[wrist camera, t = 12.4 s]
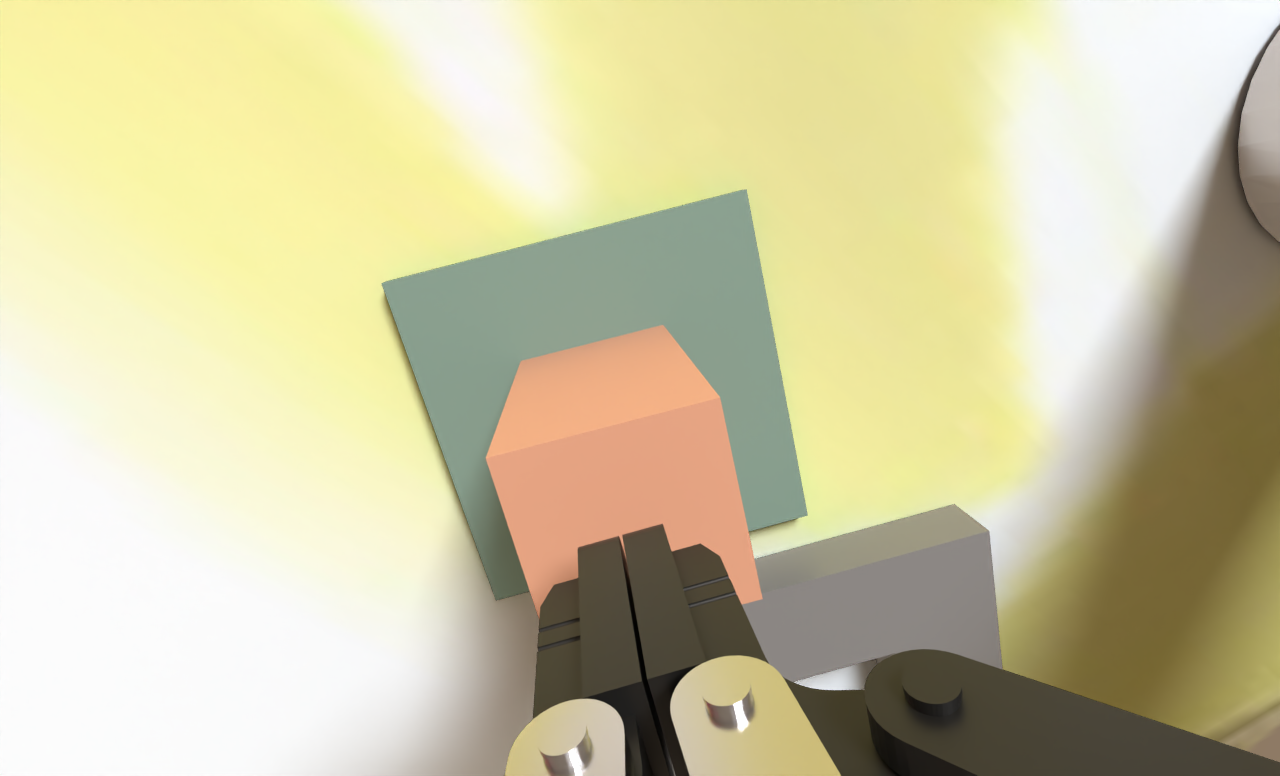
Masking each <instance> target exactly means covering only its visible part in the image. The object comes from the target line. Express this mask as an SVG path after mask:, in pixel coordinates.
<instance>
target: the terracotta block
mask: <svg viewBox="0 0 1280 776" xmlns="http://www.w3.org/2000/svg"><path fill="white" fill-rule="evenodd" d="M486 461H487V464H488V467H489V470H490V473H491V476H492V479H493V482H494V485H495V488H496V491H497V494H498V497H499V500H500V503H501V506H502V509H503V512H504V515H505V518H506V521H507V524H508V527H509V530H510V533H511V536H512V539H513V542H514V545H515V548H516V551H517V554H518V557H519V560H520V563H521V566H522V569H523V572H524V575H525V578H526V581H527V584H528V587H529V590H530V593H531V596H532V599H533V602H534V605H535V608H536V611H537V614H538V617H539V619H540V606H541V605H542V603H543V602H544V600H545V598H546V597H547V595H548V593H549V592H550V590H551V588H552V587H553V585H555V584H558V583H562V582H565V581H569V580H573V579H576V578H578V547H581V546H584V545H588V544H591V543H595V542H599V541H602V540H606V539H609V538H613V537H617V536H619V537H620V540H621V543H622V546H623V549H624V543H623V537H622V535H623V534H627V533H630V532H634V531H638V530H641V529H645V528H648V527H652V526H656V525H659V524H663V526H664V529H665V532H666V535H667V539H668V542H669V545H670V548H671V551H675V550H679V549H682V548H686V547H690V546H693V545H697V544H700V543H701V544H702V545H704V546H705V547H707V548H708V549H710V550H711V551H713V552H714V553H716V554H717V555H719V556H720V558H721V560H722V562H723V564H724V566H725V569H726V571H727V573H728V576H729V579H730V580H731V582H732V584H733V586H734V589H735V591H736V594H737V595H738V598H739V600H740V602H741V604H746V603H750V602H753V601H757V600H761V599H763V598H762V594H761V589H760V584H759V579H758V575H757V570H756V565H755V560H754V556H753V551H752V546H751V541H750V537H749V532H748V527H747V522H746V518H745V513H744V508H743V503H742V499H741V494H740V489H739V484H738V480H737V475H736V470H735V465H734V461H733V456H732V451H731V446H730V442H729V437H728V432H727V427H726V423H725V418H724V413H723V409H722V404H721V399H720V397H719V395H718V394H717V393H716V391H715V390H714V389H713V388H712V386H711V385H710V384H709V383H708V381H707V380H706V379H705V377H704V376H703V375H702V374H701V372H700V371H699V370H698V369H697V367H696V366H695V365H694V363H693V362H692V361H691V360H690V358H689V357H688V356H687V355H686V353H685V352H684V351H683V349H682V348H681V347H680V346H679V344H678V343H677V342H676V341H675V339H674V338H673V337H672V335H671V334H670V333H669V332H668V330H667V329H666V328H665V327H664V325H660V326H656V327H652V328H648V329H645V330H641V331H637V332H633V333H629V334H625V335H621V336H617V337H613V338H609V339H605V340H601V341H597V342H593V343H590V344H586V345H582V346H578V347H574V348H570V349H566V350H562V351H558V352H554V353H550V354H546V355H542V356H538V357H535V358H531V359H527V360H523V361H521V362H520V364H519V367H518V370H517V373H516V375H515V378H514V381H513V384H512V387H511V389H510V392H509V395H508V398H507V400H506V403H505V406H504V409H503V411H502V414H501V417H500V420H499V422H498V425H497V428H496V431H495V434H494V436H493V439H492V442H491V445H490V447H489V450H488V453H487V456H486ZM624 553H625V549H624ZM625 556H626V554H625Z"/></svg>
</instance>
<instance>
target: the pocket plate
mask: <svg viewBox="0 0 1280 776" xmlns="http://www.w3.org/2000/svg"><path fill="white" fill-rule="evenodd" d="M754 560H755V565H756V570H757V575H758V579H759V584H760V589H761V594H762V598H763V599H761V600H757V601H753V602H750V603H746V604H742V606H743V609H744V611H745V613H746V615H747V617H748V620H749V622H750V624H751V626H752V629H753V631H754V633H755V635H756V637H757V640H758V642H759V644H760V646H761V649H762V651H763V653H764V655H765V657H766V659H767V661H768V663H769V664H770V665H771V666H773V667H774V668H775V669H776V670H777V671H778V672H779V673H780V674H781V675H782V676H783V677H784V678H786V679H788V680H789V681H791V682H794V681H798V680H801V679H805V678H808V677H812V676H815V675H819V674H823V673H826V672H830V671H833V670H837V669H840V668H844V667H848V666H851V665H855V664H858V663H862V662H865V661H869V660H872V659H876V660H877V664H879V663H880V662H881V661H883V660H884V659H886V658H888V657H890V656H892V655H894V654H897V653H900V652H904V651H909V650H917V649H933V650H940V651H947V652H950V653H954V654H958V655H961V656H964V657H967V658H970V659H973V660H975V661H978V662H981V663H984V664H987V665H990V666H993V667H996V668H999V669H1002V659H1001V649H1000V638H999V628H998V618H997V607H996V597H995V587H994V576H993V566H992V555H991V545H990V535H989V530H987V529H986V528H985V527H983V526H982V525H981V524H980V523H978V522H977V521H976V520H974V519H973V518H972V517H970V516H969V515H968V514H967V513H965V512H964V511H963V510H961V509H960V508H959V507H957V506H956V505H955V504H954V505H950V506H946V507H943V508H939V509H935V510H932V511H928V512H925V513H921V514H917V515H914V516H910V517H906V518H903V519H899V520H895V521H892V522H888V523H884V524H881V525H877V526H874V527H870V528H866V529H863V530H859V531H855V532H852V533H848V534H844V535H841V536H837V537H833V538H830V539H826V540H822V541H819V542H815V543H812V544H808V545H804V546H801V547H797V548H793V549H790V550H786V551H782V552H779V553H775V554H771V555H768V556H764V557H761V558H757V559H754ZM1002 670H1003V669H1002ZM675 776H676V775H675Z"/></svg>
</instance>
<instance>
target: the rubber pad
mask: <svg viewBox="0 0 1280 776" xmlns="http://www.w3.org/2000/svg"><path fill="white" fill-rule="evenodd" d="M382 286H383V289H384V292H385V295H386V297H387V300H388V303H389V306H390V308H391V311H392V314H393V317H394V319H395V322H396V325H397V328H398V331H399V333H400V336H401V339H402V342H403V344H404V347H405V350H406V353H407V355H408V358H409V361H410V364H411V367H412V369H413V372H414V375H415V378H416V380H417V383H418V386H419V389H420V391H421V394H422V397H423V400H424V403H425V405H426V408H427V411H428V414H429V416H430V419H431V422H432V425H433V427H434V430H435V433H436V436H437V439H438V441H439V444H440V447H441V450H442V452H443V455H444V458H445V461H446V463H447V466H448V469H449V472H450V475H451V477H452V480H453V483H454V486H455V488H456V491H457V494H458V497H459V499H460V502H461V505H462V508H463V511H464V513H465V516H466V519H467V522H468V524H469V527H470V530H471V533H472V535H473V538H474V541H475V544H476V547H477V549H478V552H479V555H480V558H481V560H482V563H483V566H484V569H485V571H486V574H487V577H488V580H489V583H490V585H491V588H492V591H493V594H494V596H495V599H496V600H500V599H503V598H507V597H511V596H514V595H518V594H522V593H525V592H529V591H530V590H529V587H528V584H527V581H526V578H525V575H524V572H523V569H522V566H521V563H520V560H519V557H518V554H517V551H516V548H515V545H514V542H513V539H512V536H511V533H510V530H509V527H508V524H507V521H506V518H505V515H504V512H503V509H502V506H501V503H500V500H499V497H498V494H497V491H496V488H495V485H494V482H493V479H492V476H491V473H490V470H489V467H488V464H487V461H486V456H487V453H488V450H489V447H490V445H491V442H492V439H493V436H494V434H495V431H496V428H497V425H498V422H499V420H500V417H501V414H502V411H503V409H504V406H505V403H506V400H507V398H508V395H509V392H510V389H511V387H512V384H513V381H514V378H515V375H516V373H517V370H518V367H519V364H520V362H521V361H523V360H527V359H531V358H535V357H538V356H542V355H546V354H550V353H554V352H558V351H562V350H566V349H570V348H574V347H578V346H582V345H586V344H590V343H593V342H597V341H601V340H605V339H609V338H613V337H617V336H621V335H625V334H629V333H633V332H637V331H641V330H645V329H648V328H652V327H656V326H660V325H664V327H665V328H666V329H667V330H668V332H669V333H670V334H671V335H672V337H673V338H674V339H675V341H676V342H677V343H678V344H679V346H680V347H681V348H682V349H683V351H684V352H685V353H686V355H687V356H688V357H689V358H690V360H691V361H692V362H693V363H694V365H695V366H696V367H697V369H698V370H699V371H700V372H701V374H702V375H703V376H704V377H705V379H706V380H707V381H708V383H709V384H710V385H711V386H712V388H713V389H714V390H715V391H716V393H717V394H718V395H719V397H720V399H721V404H722V409H723V413H724V418H725V423H726V427H727V432H728V437H729V442H730V446H731V451H732V456H733V461H734V465H735V470H736V475H737V480H738V484H739V489H740V494H741V499H742V503H743V508H744V513H745V518H746V522H747V527H748V532H749V531H753V530H756V529H760V528H764V527H767V526H771V525H775V524H778V523H782V522H786V521H789V520H793V519H797V518H800V517H804V516H807V515H808V514H807V509H806V504H805V498H804V493H803V488H802V482H801V477H800V472H799V466H798V461H797V456H796V450H795V445H794V440H793V434H792V429H791V424H790V419H789V413H788V408H787V403H786V397H785V392H784V387H783V381H782V376H781V371H780V365H779V360H778V355H777V349H776V344H775V339H774V333H773V328H772V323H771V317H770V312H769V307H768V301H767V296H766V291H765V285H764V280H763V275H762V269H761V264H760V259H759V253H758V248H757V243H756V237H755V232H754V227H753V221H752V216H751V211H750V205H749V200H748V195H747V189H746V190H740V191H736V192H732V193H728V194H724V195H720V196H717V197H713V198H709V199H705V200H701V201H697V202H693V203H689V204H685V205H682V206H678V207H674V208H670V209H666V210H662V211H658V212H654V213H650V214H647V215H643V216H639V217H635V218H631V219H627V220H623V221H619V222H615V223H611V224H608V225H604V226H600V227H596V228H592V229H588V230H584V231H580V232H576V233H573V234H569V235H565V236H561V237H557V238H553V239H549V240H545V241H541V242H538V243H534V244H530V245H526V246H522V247H518V248H514V249H510V250H506V251H503V252H499V253H495V254H491V255H487V256H483V257H479V258H475V259H471V260H468V261H464V262H460V263H456V264H452V265H448V266H444V267H440V268H436V269H433V270H429V271H425V272H421V273H417V274H413V275H409V276H405V277H401V278H398V279H394V280H390V281H386V282H384V283H382Z"/></svg>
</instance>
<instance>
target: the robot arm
mask: <svg viewBox="0 0 1280 776" xmlns="http://www.w3.org/2000/svg"><path fill="white" fill-rule="evenodd" d="M1238 157H1239V171H1240V178H1241V182H1242V185H1243V189H1244V192H1245V195H1246V199H1247V202H1248V204H1249V206H1250V208H1251V209H1252V211H1253V213H1254V214H1255V216H1256V218H1257V219H1258V221H1259V223H1260V224H1261V226H1263V227H1264V228H1265V229H1266V230H1267V231H1268V232H1269V233H1270V234H1271V235H1272V236H1273V237H1274V238H1275V239H1276V240H1277V241H1278V242H1280V30H1279V31H1278V33H1277V34H1276V36H1275V37H1274V38H1273V40H1272V41H1271V43H1270V44H1269V46H1268V47H1267V49H1266V51H1265V53H1264V55H1263V58H1262V60H1261V62H1260V64H1259V66H1258V68H1257V70H1256V72H1255V74H1254V76H1253V78H1252V81H1251V84H1250V87H1249V91H1248V94H1247V97H1246V101H1245V104H1244V107H1243V111H1242V115H1241V123H1240V132H1239V140H1238ZM622 537H623V543H624V549H625V553H624V549H623V546H622V543H621V540H620V537H619V536H617V537H613V538H609V539H606V540H602V541H599V542H595V543H591V544H588V545H584V546H581V547H578V578H576V579H573V580H569V581H565V582H562V583H558V584H555V585H553V587H552V588H551V590H550V592H549V593H548V595H547V597H546V598H545V600H544V602H543V603H542V605H541V606H540V619H539V632H540V633H539V634H538V652H537V664H536V679H535V694H534V709H533V720H532V721H531V722H530V723H529V724H527V725H526V727H525V728H524V729H523V730H522V731H521V732H520V734H519V735H518V737H517V738H516V740H515V741H514V743H513V745H512V748H511V750H510V753H509V756H508V760H507V765H506V770H505V776H675V775H676V776H1280V762H1277V761H1274V760H1270V759H1268V758H1265V757H1262V756H1259V755H1256V754H1253V753H1250V752H1247V751H1244V750H1241V749H1238V748H1235V747H1232V746H1229V745H1226V744H1223V743H1220V742H1217V741H1214V740H1211V739H1208V738H1205V737H1202V736H1199V735H1196V734H1193V733H1190V732H1187V731H1184V730H1181V729H1178V728H1175V727H1172V726H1169V725H1166V724H1163V723H1161V722H1158V721H1155V720H1152V719H1149V718H1146V717H1143V716H1140V715H1137V714H1134V713H1131V712H1128V711H1125V710H1122V709H1119V708H1116V707H1113V706H1110V705H1107V704H1104V703H1101V702H1098V701H1095V700H1092V699H1089V698H1086V697H1083V696H1080V695H1077V694H1074V693H1071V692H1068V691H1065V690H1062V689H1059V688H1056V687H1053V686H1050V685H1047V684H1044V683H1041V682H1038V681H1035V680H1032V679H1029V678H1026V677H1023V676H1020V675H1017V674H1014V673H1011V672H1008V671H1005V670H1002V669H999V668H996V667H993V666H990V665H987V664H984V663H981V662H978V661H975V660H973V659H970V658H967V657H964V656H961V655H958V654H954V653H950V652H947V651H940V650H933V649H917V650H909V651H904V652H900V653H897V654H894V655H892V656H890V657H888V658H886V659H884V660H883V661H881V662H880V663H879V664H877V665H876V666H875V667H874V668H873V670H872V671H871V672H870V674H869V676H868V677H867V680H866V683H865V689H864V690H819V689H813V688H808V687H805V686H801V685H798V684H796V683H794V682H791V681H789V680H788V679H786V678H784V677H783V676H782V675H781V674H780V673H779V672H778V671H777V670H776V669H775V668H774V667H773V666H771V665H770V664H769V663H768V661H767V659H766V657H765V655H764V653H763V651H762V649H761V646H760V644H759V642H758V640H757V637H756V635H755V633H754V631H753V629H752V626H751V624H750V622H749V620H748V617H747V615H746V613H745V611H744V609H743V606H742V604H741V602H740V600H739V598H738V595H737V594H736V591H735V589H734V586H733V584H732V582H731V580H730V579H729V576H728V573H727V571H726V569H725V566H724V564H723V562H722V560H721V558H720V556H719V555H717V554H716V553H714V552H713V551H711V550H710V549H708V548H707V547H705V546H704V545H702V544H701V543H700V544H697V545H693V546H690V547H686V548H682V549H679V550H675V551H671V548H670V545H669V542H668V539H667V535H666V532H665V529H664V526H663V524H659V525H656V526H652V527H648V528H645V529H641V530H638V531H634V532H630V533H627V534H623V535H622ZM625 554H626V556H625Z"/></svg>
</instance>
